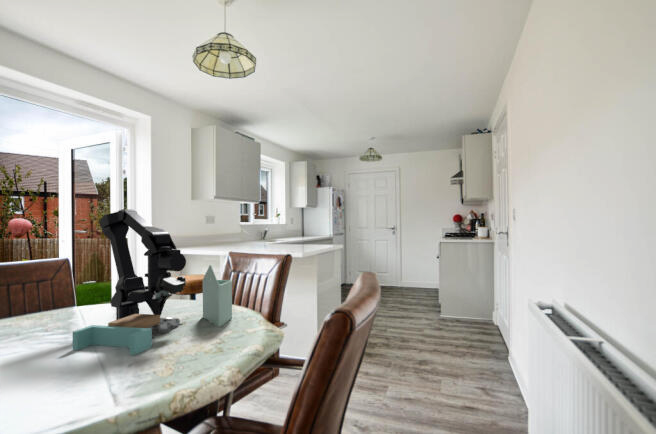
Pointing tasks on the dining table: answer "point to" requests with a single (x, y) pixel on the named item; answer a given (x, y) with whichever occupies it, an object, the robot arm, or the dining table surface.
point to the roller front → (161, 327)
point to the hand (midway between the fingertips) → (157, 317)
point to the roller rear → (171, 321)
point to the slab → (137, 321)
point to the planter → (216, 299)
